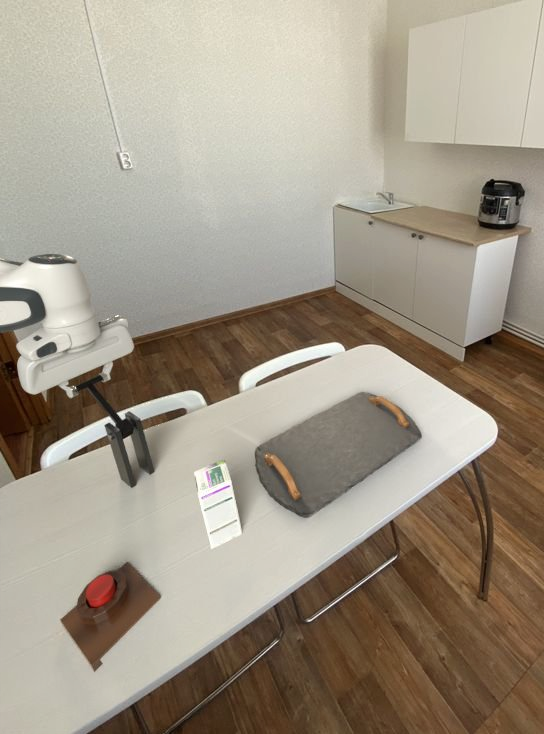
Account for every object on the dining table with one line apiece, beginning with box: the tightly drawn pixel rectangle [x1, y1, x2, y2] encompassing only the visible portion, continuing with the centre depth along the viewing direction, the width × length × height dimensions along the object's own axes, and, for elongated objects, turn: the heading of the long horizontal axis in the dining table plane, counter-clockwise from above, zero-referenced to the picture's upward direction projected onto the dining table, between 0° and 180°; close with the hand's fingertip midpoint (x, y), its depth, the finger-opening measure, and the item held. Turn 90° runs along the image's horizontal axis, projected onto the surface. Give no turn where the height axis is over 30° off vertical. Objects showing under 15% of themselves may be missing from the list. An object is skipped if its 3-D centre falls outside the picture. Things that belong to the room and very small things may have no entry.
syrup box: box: [193, 459, 243, 550], centre depth 70 cm, size 6×6×14 cm
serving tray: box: [254, 391, 423, 519], centre depth 90 cm, size 39×23×6 cm, turn 129°
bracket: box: [103, 410, 155, 489], centre depth 81 cm, size 10×8×16 cm
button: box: [86, 575, 116, 607], centre depth 60 cm, size 4×4×2 cm
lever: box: [74, 374, 134, 440], centre depth 81 cm, size 16×5×2 cm, turn 57°
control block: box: [59, 561, 161, 673], centre depth 59 cm, size 10×10×4 cm
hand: (89, 387), depth 83 cm, fingers closed on lever, 5 cm apart
